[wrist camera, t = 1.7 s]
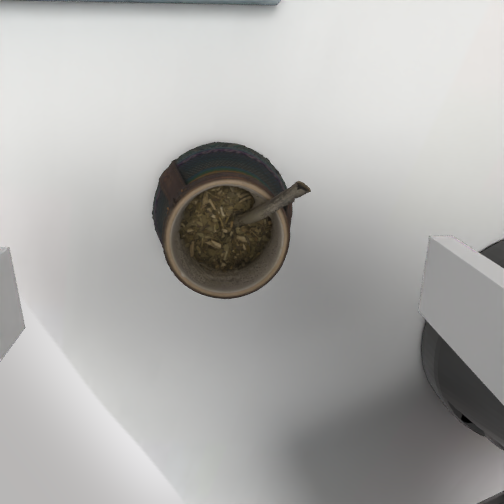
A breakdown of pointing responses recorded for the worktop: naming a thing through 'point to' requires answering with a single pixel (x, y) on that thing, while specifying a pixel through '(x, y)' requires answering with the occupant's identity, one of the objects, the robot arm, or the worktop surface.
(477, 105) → the worktop surface
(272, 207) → the mate gourd
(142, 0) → the slate tray
